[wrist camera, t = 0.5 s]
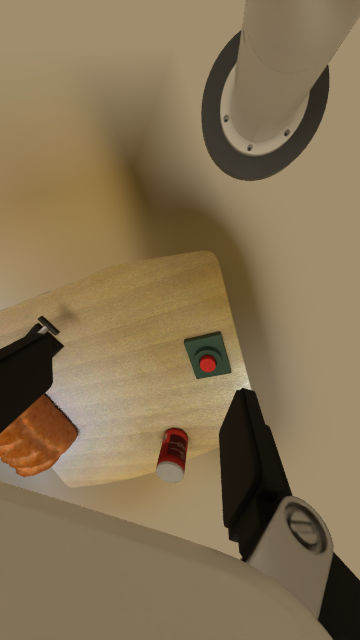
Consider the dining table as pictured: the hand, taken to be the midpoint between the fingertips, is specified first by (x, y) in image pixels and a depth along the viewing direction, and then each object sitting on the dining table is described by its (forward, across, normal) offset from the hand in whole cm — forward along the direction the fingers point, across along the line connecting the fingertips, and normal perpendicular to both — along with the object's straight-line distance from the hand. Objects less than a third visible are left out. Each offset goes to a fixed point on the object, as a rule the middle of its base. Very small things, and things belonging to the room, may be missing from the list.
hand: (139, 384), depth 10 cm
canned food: (+38, -7, +50) cm, 64 cm away
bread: (+38, +38, +57) cm, 78 cm away
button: (+34, -8, +19) cm, 40 cm away
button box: (+37, -8, +18) cm, 42 cm away
